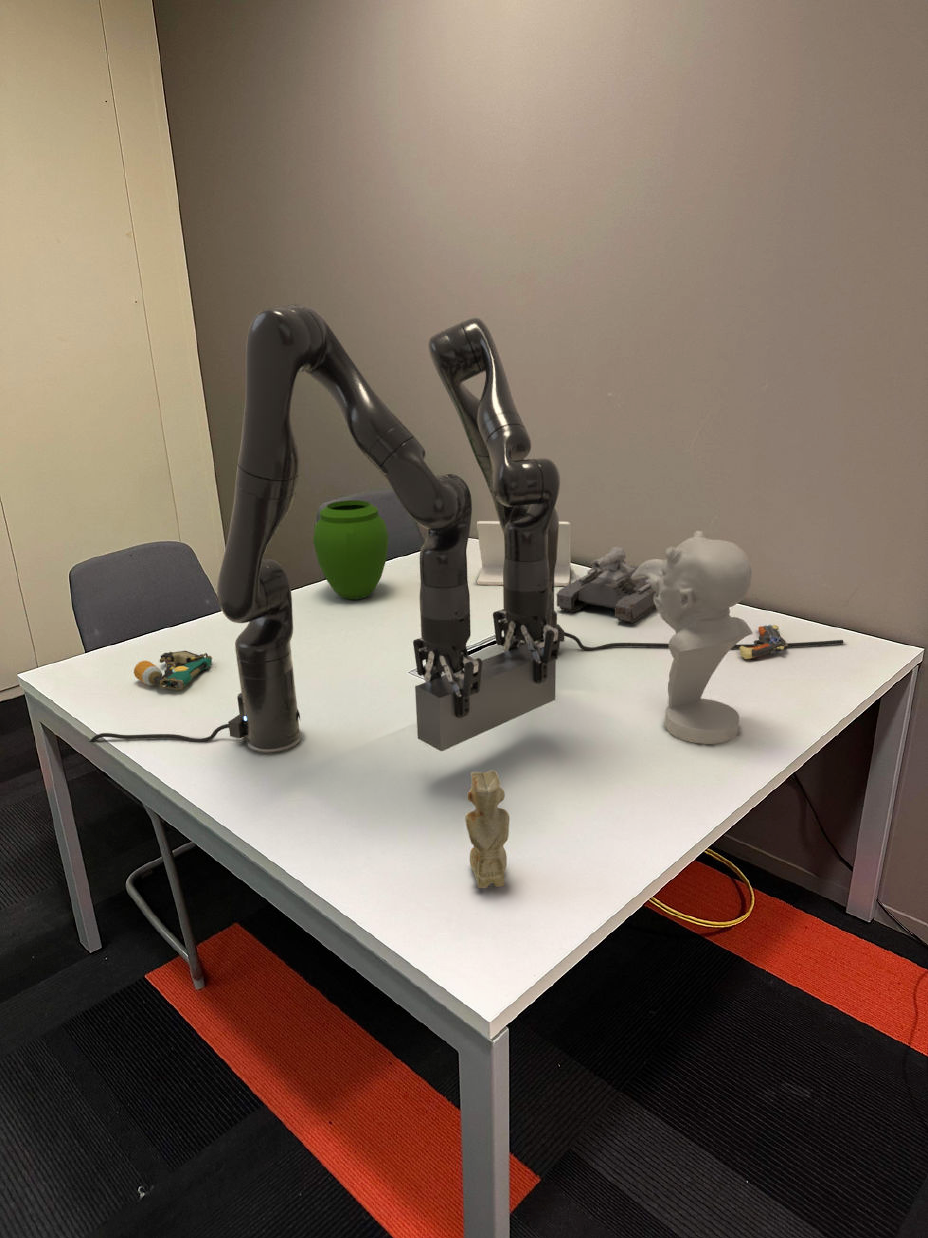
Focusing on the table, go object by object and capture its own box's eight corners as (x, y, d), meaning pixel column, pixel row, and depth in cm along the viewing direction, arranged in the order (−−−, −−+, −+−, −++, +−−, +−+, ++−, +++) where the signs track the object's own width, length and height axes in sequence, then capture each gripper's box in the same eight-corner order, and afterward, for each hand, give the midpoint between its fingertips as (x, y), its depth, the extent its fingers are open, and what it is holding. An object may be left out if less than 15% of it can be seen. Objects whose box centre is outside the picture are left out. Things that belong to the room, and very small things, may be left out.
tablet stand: (569, 585, 229) (570, 524, 223) (476, 584, 232) (475, 523, 226) (570, 566, 246) (571, 508, 240) (484, 564, 249) (483, 507, 243)
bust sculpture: (671, 682, 170) (682, 511, 158) (763, 732, 151) (784, 540, 138) (606, 701, 164) (613, 523, 151) (694, 755, 144) (709, 555, 131)
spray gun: (177, 659, 191) (231, 671, 185) (120, 684, 176) (176, 698, 171) (176, 641, 190) (230, 653, 184) (118, 665, 175) (174, 678, 169)
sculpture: (507, 859, 119) (506, 764, 113) (512, 893, 112) (511, 794, 107) (465, 861, 118) (462, 767, 113) (468, 895, 112) (465, 796, 106)
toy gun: (742, 650, 179) (792, 647, 177) (732, 623, 197) (777, 620, 194) (742, 662, 179) (792, 659, 177) (732, 635, 197) (778, 632, 195)
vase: (406, 590, 229) (401, 501, 221) (360, 612, 214) (353, 517, 206) (350, 579, 239) (343, 494, 231) (303, 600, 224) (293, 509, 216)
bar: (531, 689, 151) (531, 641, 148) (555, 699, 147) (556, 650, 144) (417, 738, 136) (414, 686, 132) (441, 751, 131) (439, 698, 128)
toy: (603, 584, 229) (605, 530, 224) (673, 597, 218) (677, 540, 213) (555, 612, 210) (556, 553, 205) (630, 627, 199) (633, 566, 194)
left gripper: (396, 603, 131) (401, 702, 137) (457, 627, 121) (460, 733, 127) (433, 592, 136) (437, 688, 142) (496, 614, 126) (497, 717, 132)
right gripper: (479, 578, 142) (481, 670, 148) (542, 598, 132) (541, 696, 138) (511, 568, 146) (512, 658, 152) (574, 586, 136) (572, 682, 142)
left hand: (448, 709), depth 134 cm, fingers closed on bar, 6 cm apart
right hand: (526, 676), depth 145 cm, fingers closed on bar, 6 cm apart
